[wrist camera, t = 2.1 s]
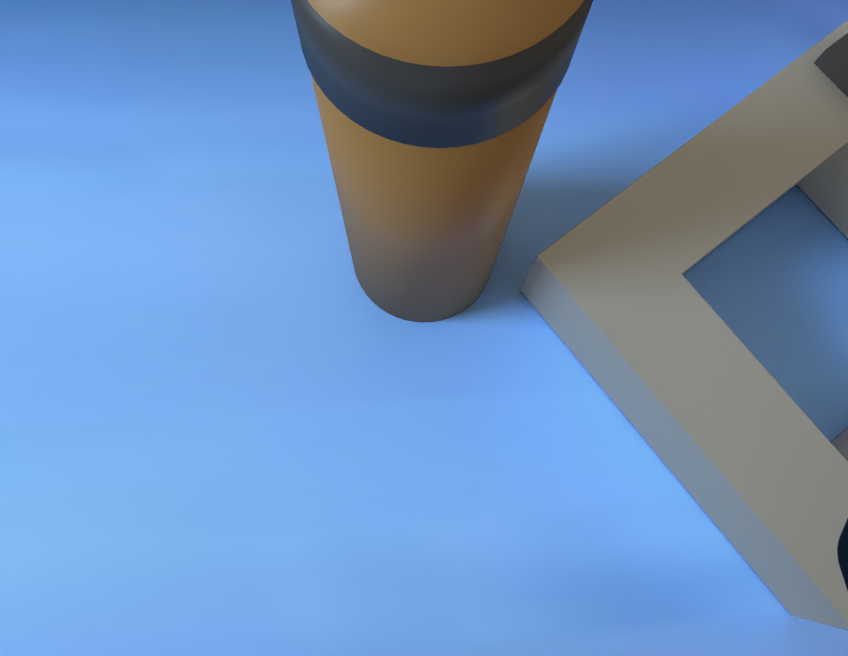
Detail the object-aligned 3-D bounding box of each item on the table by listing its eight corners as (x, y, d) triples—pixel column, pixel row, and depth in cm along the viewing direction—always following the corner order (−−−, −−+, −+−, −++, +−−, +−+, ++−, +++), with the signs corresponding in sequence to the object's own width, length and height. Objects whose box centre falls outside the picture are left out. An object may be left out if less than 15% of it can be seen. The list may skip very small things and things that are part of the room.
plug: (524, 266, 22) (684, -64, 9) (410, 353, 21) (414, 126, 9) (435, 160, 23) (470, -282, 10) (322, 241, 22) (206, -121, 9)
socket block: (1071, 358, 22) (1199, 329, 18) (791, 614, 20) (872, 637, 16) (798, 76, 23) (866, 1, 20) (519, 289, 22) (541, 247, 18)
